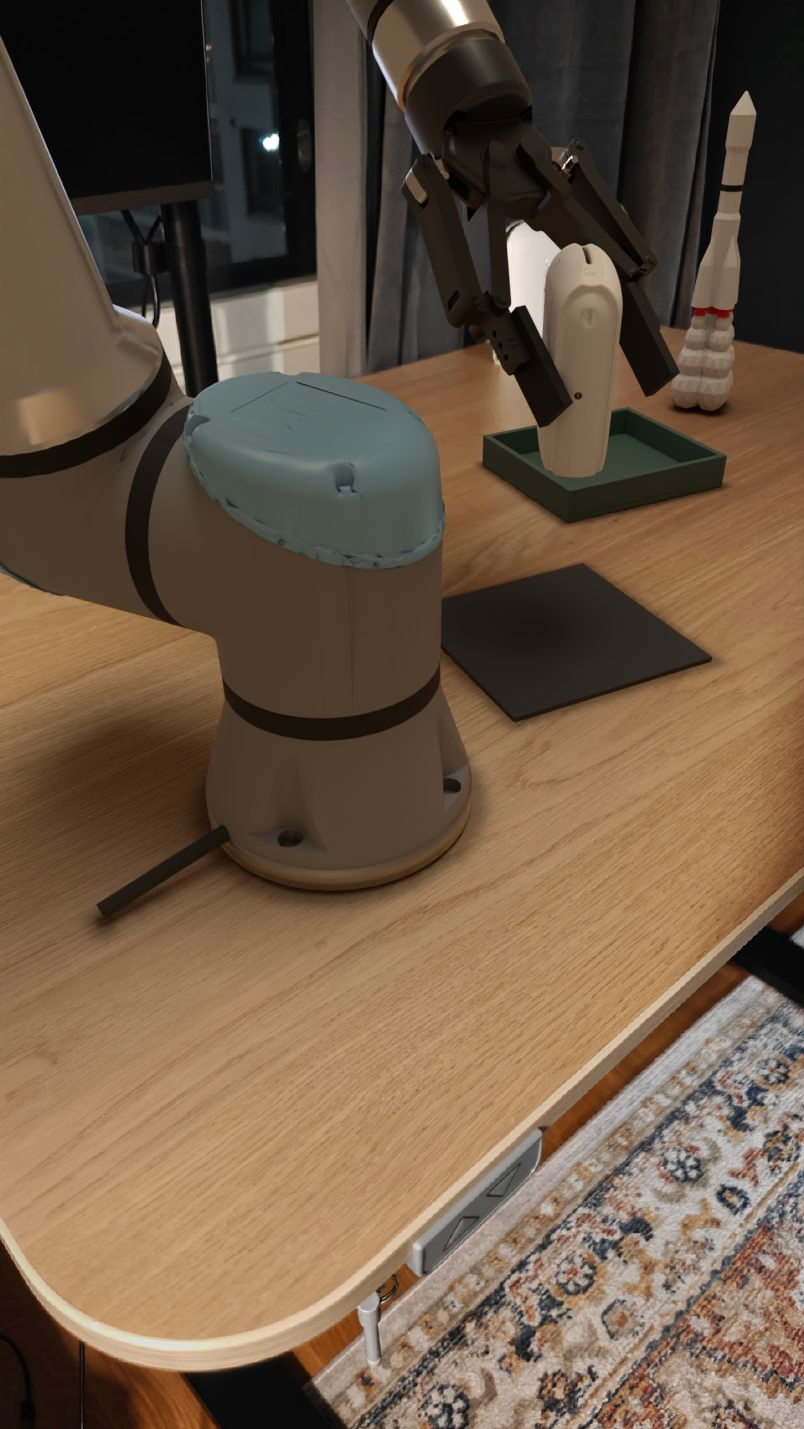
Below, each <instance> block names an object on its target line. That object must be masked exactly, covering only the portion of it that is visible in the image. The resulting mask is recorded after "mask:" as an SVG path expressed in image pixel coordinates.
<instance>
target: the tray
mask: <svg viewBox="0 0 804 1429" xmlns="http://www.w3.org/2000/svg"><path fill="white" fill-rule="evenodd" d="M727 459H728V455H727V454H725V453H723V452H720V451H719V450H717V449H715V448H712V447H711V446H709V445H706V444H704V443H703V442H701V441H698V440H696V439H695V438H692V437H690V436H688V435H686V434H685V433H683V432H680V431H678V430H677V429H674V428H673V427H670V426H668V425H666V424H664V423H662V422H660V421H658V420H656V419H654V418H652V417H651V416H648V415H646V414H644V413H642V412H640V411H639V410H636V409H634V408H631V406H625V407H621V408H616V409H615V408H614V409H612V411H611V420H610V428H609V436H608V444H607V452H606V457H605V462H604V465H603V468H602V471H599V472H596V473H595V475H593V476H589V477H580V478H570V477H561V476H557V475H554V474H553V473H552V471H547V470H546V469H545V467H544V465H543V463H542V459H541V455H540V449H539V441H538V432H537V424H533V425H529V426H524V427H519V428H513V429H508V430H503V431H498V432H493V433H488V434H483V435H482V461H481V462H482V463H481V464H482V466H483V467H485V468H487V469H488V470H489V471H491V472H493V473H494V474H496V475H497V476H498V477H500V478H501V479H502V480H504V481H505V482H507V483H508V484H510V485H512V486H513V487H514V488H516V489H517V490H519V491H520V492H522V493H523V494H524V495H526V496H528V497H529V498H530V499H532V500H533V501H535V502H536V503H538V504H539V505H541V506H542V507H543V508H545V509H546V510H548V511H549V512H551V513H552V514H554V515H555V516H556V517H558V518H560V519H561V520H562V521H564V522H565V523H567V524H568V523H573V522H576V521H580V520H585V519H590V518H593V517H598V516H601V515H605V514H606V515H607V514H610V513H615V512H619V511H622V510H627V509H631V508H635V507H639V506H644V505H648V504H651V503H653V504H654V503H656V502H660V501H664V500H669V499H673V498H677V497H681V496H687V495H691V494H695V493H699V492H702V491H707V490H712V489H715V488H719V487H722V486H723V483H724V482H723V481H724V477H725V470H726V466H727Z"/></svg>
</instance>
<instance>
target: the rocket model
mask: <svg viewBox="0 0 804 1429" xmlns="http://www.w3.org/2000/svg"><path fill="white" fill-rule="evenodd" d="M756 120H757V112H756V108H755V106H754V103H753V101H752V98H751V95H750V93H749V91H748V90H745V91H744V93H743V94H742V96H741V97H740V98H739V100H738V102H737V103H736V105H735V106H734V108H733V109H732V110H731V112H730V114H729V120H728V125H727V133H726V139H725V150H726V154H725V159H724V166H723V171H722V180H721V185H720V193H719V200H718V205H717V212H716V214H715V215H714V217H713V223H712V229H711V236H710V243H709V245H708V247H707V249H706V251H705V253H704V255H703V257H702V260H701V262H700V264H699V268H698V271H697V277H696V282H695V285H694V290H693V294H692V298H691V302H690V307H693V308H694V310H693V313H692V315H693V316H692V317H691V320H690V326H689V328H688V329H687V331H686V333H685V336H684V345H683V348H682V349H681V351H680V352H679V355H678V358H677V361H676V365H677V367H678V369H679V371H680V373H679V374H678V375H677V376H676V377H675V378H673V379H672V380H671V381H672V382H671V384H670V389H671V390H670V391H671V397H672V398H671V399H673V401H674V403H675V405H676V406H677V407H680V408H682V409H689V408H695V407H696V406H697V407H700V409H701V410H704V411H707V412H713V411H715V410H718V409H720V408H721V407H722V406H723V405H724V404H725V403H726V401H727V400H728V398H729V395H730V393H731V390H732V388H733V385H734V373H733V370H732V367H733V366H734V362H735V359H736V355H735V348H734V346H733V340H734V337H735V327H734V326H733V324H732V323H733V320H734V311H733V310H734V309H735V305H736V304H737V303H738V299H739V288H740V287H739V286H740V272H741V256H740V251H739V245H738V236H739V231H740V224H741V218H742V217H741V214H740V207H741V201H742V194H743V190H744V184H745V183H744V182H745V176H746V169H747V163H748V158H749V151H750V149H751V147H752V144H753V138H754V132H755V124H756Z"/></svg>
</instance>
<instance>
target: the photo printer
mask: <svg viewBox="0 0 804 1429" xmlns="http://www.w3.org/2000/svg"><path fill="white" fill-rule="evenodd" d="M543 292H544V301H543V316H542V317H543V318H542V332H541V333H542V335H541V338H542V340H543V342H544V344H545V346H546V348H547V350H548V352H549V354H550V356H551V358H552V360H553V362H554V365H555V366H556V368H557V370H558V372H559V375H560V377H561V379H562V381H563V383H564V385H565V387H566V389H567V391H568V393H569V395H570V397H571V399H572V401H573V403H572V404H571V405H570V406H569V407H568V408H567V409H566V410H565V411H564V412H563V413H562V414H561V415H560V416H558V417H557V418H556V419H555V420H554V421H553V422H552V423H551V424H550V425H549V426H546V427H542V428H539V426H538V424H537V423H536V425H537V432H538V441H539V449H540V455H541V459H542V463H543V465H544V467H545V469H546V470H547V471H552V473H553V474H554V475H557V476H561V477H570V478H580V477H589V476H593V475H595V473H596V472H599V471H602V468H603V465H604V462H605V457H606V452H607V444H608V436H609V428H610V420H611V411H612V410H613V401H614V391H615V383H616V374H617V365H618V364H617V363H618V356H619V355H618V354H619V347H620V344H619V338H620V328H621V319H622V307H623V305H622V303H623V302H622V293H621V286H620V282H619V278H618V275H617V272H616V269H615V267H614V265H613V263H612V261H611V259H610V258H609V257H608V255H607V254H606V253H605V252H604V251H603V250H602V249H601V248H599V247H597V246H595V245H593V244H588V245H585V246H580V245H578V244H576V243H573V244H571V245H568V246H566V247H565V248H563V249H562V250H560V251H558V252H557V254H555V256H554V257H553V259H552V260H551V262H550V265H549V266H548V267H547V270H546V275H545V281H544V289H543Z"/></svg>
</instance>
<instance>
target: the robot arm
mask: <svg viewBox="0 0 804 1429" xmlns="http://www.w3.org/2000/svg"><path fill="white" fill-rule="evenodd" d="M345 2H346V3H347V5H348V6H349V8H350V10H351V12H352V14H353V16H354V18H355V19H356V22H357V24H358V26H359V27H360V29H361V31H362V34H363V35H364V37H365V39H366V41H367V43H368V45H369V47H370V50H371V52H372V55H373V56H374V59H375V61H376V62H377V64H378V66H379V69H380V71H381V73H382V75H383V78H384V79H385V82H386V83H387V85H388V87H389V89H390V91H391V93H392V96H393V97H394V100H395V101H396V103H397V105H398V107H399V109H401V111H402V113H404V120H405V123H406V125H407V127H408V129H409V131H410V133H411V136H412V137H413V139H414V142H415V144H416V145H417V148H418V150H419V151H420V154H419V155H417V158H416V159H415V160H414V163H413V165H412V166H411V168H410V170H409V171H408V173H407V175H406V177H405V179H404V180H403V182H402V184H401V186H400V192H401V194H402V196H403V198H404V199H405V201H406V202H407V204H408V205H409V207H410V209H411V210H412V212H413V213H414V215H415V216H416V219H417V222H418V225H419V229H420V232H421V236H422V240H423V243H424V246H425V249H426V253H427V257H428V259H429V264H430V267H431V270H432V274H433V277H434V280H435V285H436V288H437V291H438V294H439V298H440V301H441V305H442V308H443V311H444V315H445V318H446V321H447V323H448V324H449V325H450V326H451V327H453V328H456V329H460V328H462V327H463V326H464V325H470V326H469V327H468V332H469V334H470V336H471V337H472V338H473V339H476V340H479V341H481V340H484V339H485V338H487V340H488V342H489V343H490V345H491V347H492V350H493V352H494V354H495V355H496V358H497V361H498V362H499V364H500V366H501V368H502V370H503V371H504V372H505V373H506V374H507V376H509V377H510V376H513V377H514V379H515V381H516V383H517V385H518V387H519V389H520V391H521V393H522V396H523V397H524V400H525V402H526V403H527V406H528V408H529V410H530V412H531V413H532V416H533V418H534V420H535V422H536V425H537V424H538V426H539V428H542V427H546V426H549V425H550V424H551V423H552V422H553V421H554V420H555V419H556V418H557V417H558V416H560V415H561V414H562V413H563V412H564V411H565V410H566V409H567V408H568V407H569V406H570V405H571V404H572V403H573V401H572V399H571V397H570V395H569V393H568V391H567V389H566V387H565V385H564V383H563V381H562V379H561V377H560V375H559V372H558V370H557V368H556V366H555V365H554V362H553V360H552V358H551V356H550V354H549V352H548V350H547V348H546V346H545V344H544V342H543V340H542V335H541V334H540V331H539V329H538V328H537V325H536V323H535V321H534V319H533V317H532V315H531V313H530V311H529V309H528V307H527V305H526V304H524V305H518V306H515V307H514V308H513V309H512V311H511V310H510V308H511V306H512V292H511V280H510V265H509V254H508V253H509V252H508V238H507V226H506V224H507V223H506V220H509V219H511V220H523V222H524V223H526V225H527V226H528V227H529V228H530V229H531V230H532V231H534V232H537V233H538V232H542V233H543V234H544V235H546V236H547V238H548V239H549V240H550V241H551V242H552V243H554V245H555V246H556V247H557V248H558V249H559V250H560V251H561V250H562V249H563V248H565V247H566V246H568V245H571V244H573V243H576V244H578V245H580V246H585V245H588V244H593V245H595V246H597V247H599V248H601V249H602V250H603V251H604V252H605V253H606V254H607V255H608V257H609V258H610V259H611V261H612V263H613V265H614V267H615V269H616V272H617V275H618V278H619V282H620V286H621V293H622V302H623V303H622V305H623V307H622V319H621V328H620V338H619V347H620V348H621V350H622V352H623V355H624V357H625V359H626V361H627V362H628V365H629V367H630V368H631V370H632V373H633V375H634V377H635V379H636V380H637V383H638V385H639V387H640V389H641V391H642V393H643V396H644V397H645V398H648V397H652V396H654V395H656V394H657V393H658V392H659V391H661V389H663V388H664V387H665V386H666V385H668V384H669V383H670V382H671V381H673V379H674V378H675V377H676V376H677V375H678V374H679V373H680V371H679V369H678V366H677V362H676V361H675V358H674V356H673V354H672V352H671V350H670V348H669V347H668V344H667V343H666V341H665V338H664V337H663V334H662V332H661V331H660V330H661V323H660V320H659V317H658V316H657V314H656V311H655V310H654V308H653V305H652V304H651V302H650V300H649V297H648V295H647V293H646V292H645V290H644V287H643V281H644V280H645V279H647V277H649V275H650V274H651V273H652V272H653V271H654V269H656V268H657V266H658V264H659V262H658V259H657V256H656V255H655V253H654V252H653V251H652V249H651V248H650V246H649V245H648V243H647V242H646V240H645V239H644V237H643V236H642V234H641V233H640V232H639V230H638V229H637V226H636V225H635V224H634V223H633V221H632V219H631V218H630V217H629V216H628V214H627V212H626V211H625V210H624V208H623V207H622V205H621V203H620V202H619V201H618V199H617V198H616V196H615V194H614V193H613V192H612V191H611V189H610V187H609V186H608V184H607V183H606V181H605V180H604V179H603V177H602V176H601V174H600V173H599V171H598V170H597V168H596V166H595V164H594V160H593V157H592V155H591V152H590V150H589V147H588V144H587V143H586V141H584V139H582V138H581V137H578V136H575V137H573V138H572V139H571V141H570V142H569V143H568V145H567V146H566V147H563V146H551V145H550V143H549V141H548V140H547V139H546V137H544V136H543V135H542V133H541V132H539V131H538V129H537V128H536V126H535V124H534V119H533V95H532V91H531V88H530V87H529V85H528V83H527V81H526V79H525V77H524V75H523V73H522V71H521V68H520V67H519V65H518V63H517V61H516V59H515V57H514V54H513V53H512V50H511V49H510V47H509V46H508V45H506V40H505V37H504V33H503V30H502V28H501V27H500V24H499V23H498V21H497V19H496V17H495V15H494V13H493V11H492V9H491V7H490V5H489V3H488V1H487V0H345ZM12 62H13V61H12V60H11V58H10V55H9V53H8V51H7V49H6V46H5V43H4V41H3V39H2V36H1V35H0V574H2V575H4V576H7V577H9V578H11V579H13V580H15V581H16V582H17V583H20V584H22V585H26V586H29V588H31V589H34V590H37V591H40V592H42V593H49V594H50V595H52V596H53V595H54V596H58V597H70V598H73V599H77V600H80V601H84V602H88V603H92V604H97V605H100V606H103V607H106V608H111V609H114V610H117V611H121V612H125V613H129V614H133V615H136V616H139V617H144V618H146V619H147V618H148V619H152V620H155V621H159V622H162V623H166V624H169V625H171V626H175V627H180V628H184V629H187V630H191V631H194V632H197V633H201V634H204V635H207V636H210V637H211V638H212V639H213V641H215V643H216V649H217V655H218V656H217V657H218V662H219V663H218V664H219V669H220V670H219V671H220V674H221V680H222V681H221V682H222V688H223V696H224V700H223V704H222V709H221V713H220V717H219V722H218V726H217V730H216V733H215V738H214V741H213V746H212V751H211V754H210V758H209V763H208V768H207V772H206V779H205V780H206V781H205V790H204V791H205V802H206V807H207V814H208V820H209V824H210V829H211V831H209V832H208V833H206V834H205V835H203V836H201V837H199V838H198V839H196V840H195V841H194V842H192V843H190V844H188V845H187V846H185V847H183V848H182V849H180V850H179V851H177V852H176V853H173V855H170V856H169V857H167V858H166V859H165V860H163V861H161V862H159V863H158V864H157V865H155V866H153V867H152V868H150V869H149V870H147V871H146V872H144V873H142V874H141V875H140V876H137V877H136V878H135V879H133V880H131V881H130V882H128V883H127V884H125V885H124V886H122V887H121V888H119V889H117V890H116V891H115V892H113V893H111V894H110V895H108V896H107V897H105V898H104V899H102V900H100V901H99V902H97V903H96V904H95V905H96V906H95V907H96V908H97V909H98V911H99V913H100V914H101V916H102V917H103V919H104V920H107V919H109V918H111V917H112V916H113V915H115V914H117V913H118V912H120V911H121V910H123V909H125V907H127V906H129V905H130V904H132V903H133V902H135V901H136V900H138V899H139V898H141V897H142V896H145V895H146V894H147V893H149V892H150V891H152V890H153V889H155V888H157V887H158V886H159V885H161V884H163V883H164V882H165V881H167V880H169V879H170V878H172V877H173V876H175V875H176V874H179V873H180V872H181V871H183V870H184V869H186V868H187V867H189V866H190V865H192V864H194V863H195V862H197V861H199V860H200V859H201V858H203V857H205V856H206V855H208V854H210V853H211V852H213V851H215V850H216V849H217V848H220V847H221V848H222V850H223V852H225V853H226V854H227V856H229V857H230V858H231V859H232V860H233V861H234V862H236V863H237V864H238V865H240V866H241V867H243V868H244V869H245V870H247V871H249V872H250V873H253V874H255V875H256V876H258V877H260V878H263V879H265V880H268V881H270V882H273V883H277V884H280V885H284V886H286V887H287V886H288V887H291V888H297V889H303V890H309V891H311V890H312V891H326V892H329V891H330V892H331V891H350V890H359V889H365V888H372V887H376V886H380V885H383V884H387V883H390V882H393V881H396V880H399V879H402V878H404V877H407V876H409V875H412V874H413V873H415V872H417V871H419V870H421V869H423V868H425V867H427V866H428V865H429V864H431V863H433V862H434V861H436V859H438V858H439V857H440V856H441V855H443V854H444V853H445V852H446V851H447V850H448V849H449V848H450V847H451V846H452V845H453V844H454V843H455V842H456V841H457V839H458V838H459V836H460V835H461V833H462V832H463V830H464V828H465V826H466V824H467V821H468V819H469V815H470V811H471V806H472V787H473V786H472V784H473V783H472V780H473V779H472V770H471V766H470V760H469V756H468V752H467V750H466V747H465V745H464V742H463V740H462V737H461V735H460V732H459V729H458V726H457V724H456V722H455V719H454V716H453V714H452V711H451V709H450V706H449V703H448V701H447V698H446V696H445V693H444V690H443V687H442V683H441V682H442V681H441V680H442V679H441V654H442V652H441V651H442V648H441V605H442V599H443V596H442V595H443V593H442V592H443V543H444V542H443V541H444V539H443V538H444V532H445V529H446V523H447V522H446V518H447V517H446V516H447V514H446V513H447V512H446V506H445V501H444V498H443V489H442V488H443V486H442V473H441V462H440V454H439V449H438V444H437V442H436V439H435V436H434V435H433V433H432V432H431V430H430V428H428V427H427V425H426V422H425V421H424V420H423V419H422V417H421V416H420V415H419V413H418V412H416V410H415V409H413V408H412V407H411V406H410V405H408V404H407V403H406V402H404V401H403V400H401V399H400V398H398V397H396V396H395V395H393V394H391V393H388V392H387V391H385V390H383V389H380V388H378V387H376V386H372V385H370V384H366V383H364V382H360V381H357V380H353V379H349V378H345V377H342V376H339V375H338V376H337V375H332V374H328V373H327V374H326V373H318V372H310V371H300V372H299V373H298V374H292V375H291V374H285V373H283V372H281V371H260V372H252V373H251V372H250V373H245V374H240V375H236V376H232V377H229V378H226V379H222V380H219V381H217V382H215V383H213V384H211V385H210V386H207V387H206V388H205V389H203V390H202V391H201V392H199V393H198V395H196V397H192V396H191V397H190V396H188V395H186V394H185V393H184V392H183V391H182V389H181V387H180V385H179V383H178V380H177V377H176V375H175V373H174V371H173V368H172V365H171V362H170V360H169V357H168V355H167V353H166V349H165V348H164V345H163V343H162V340H161V337H160V335H159V332H158V331H157V329H156V328H155V326H154V325H153V324H152V322H150V321H149V320H148V318H145V317H144V316H142V315H141V314H139V313H137V312H134V311H132V310H129V309H126V308H124V307H121V306H118V305H115V304H113V301H112V300H111V297H110V294H109V293H108V290H107V288H106V285H105V283H104V280H103V278H102V276H101V273H100V271H99V269H98V266H97V263H96V262H95V259H94V257H93V254H92V252H91V249H90V247H89V245H88V241H87V240H86V238H85V235H84V232H83V230H82V228H81V226H80V223H79V221H78V218H77V216H76V213H75V211H74V209H73V206H72V204H71V201H70V199H69V197H68V195H67V191H66V189H65V187H64V185H63V182H62V180H61V177H60V175H59V174H58V170H57V168H56V166H55V163H54V161H53V158H52V156H51V154H50V152H49V149H48V147H47V144H46V142H45V139H44V137H43V134H42V132H41V129H40V127H39V124H38V122H37V120H36V118H35V115H34V113H33V111H32V108H31V106H30V103H29V101H28V99H27V96H26V93H25V90H24V88H23V86H22V83H21V82H20V79H19V77H18V75H17V72H16V70H15V68H14V65H13V63H12ZM548 193H550V198H549V199H548V200H547V202H546V203H545V204H544V205H543V207H542V208H541V209H540V208H539V207H540V205H542V202H543V201H544V200H545V198H547V195H548ZM455 198H456V199H458V200H459V201H460V204H461V205H462V216H463V223H462V220H461V218H460V214H459V210H458V207H457V204H456V200H455ZM467 237H468V241H467Z"/></svg>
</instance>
